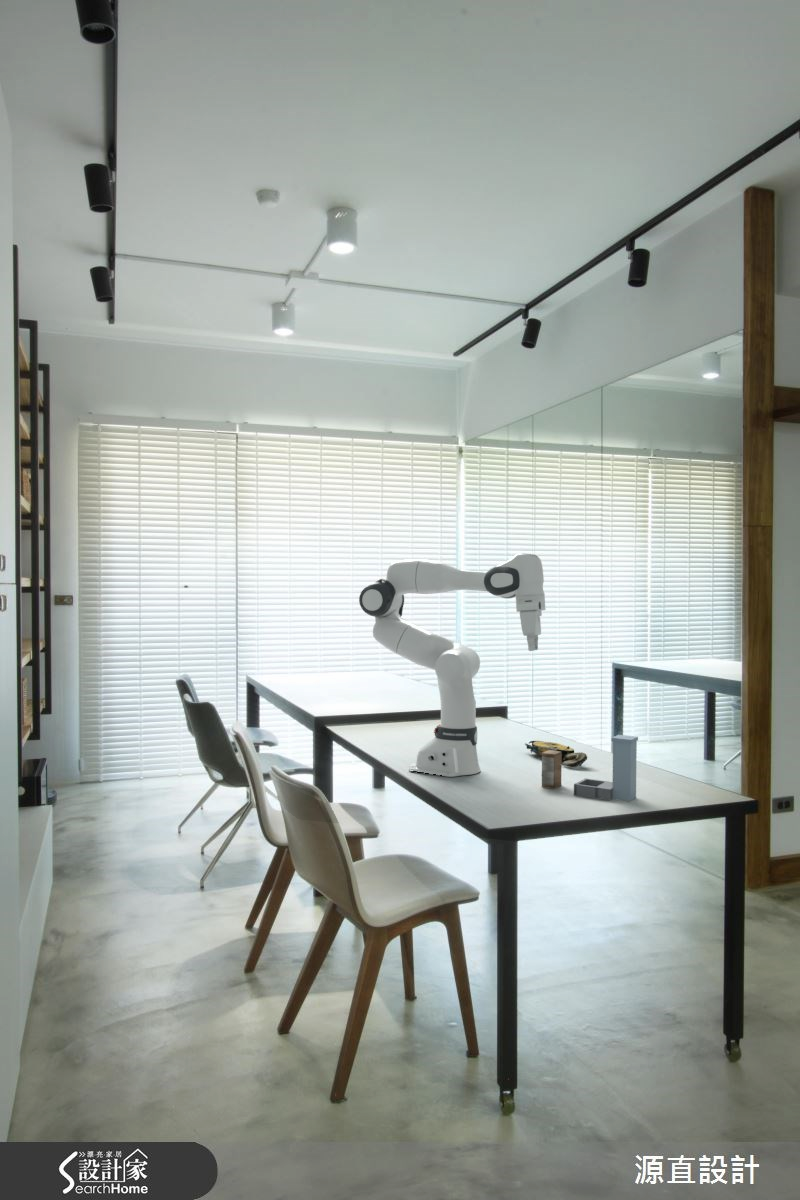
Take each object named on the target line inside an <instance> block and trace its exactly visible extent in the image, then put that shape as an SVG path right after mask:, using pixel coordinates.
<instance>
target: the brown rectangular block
mask: <svg viewBox="0 0 800 1200" xmlns="http://www.w3.org/2000/svg"><path fill="white" fill-rule="evenodd" d="M562 766H563V763H562V752H561V751H553V750H548V751H545V752H543V753H542V756H541V788H548V789H554V790H555V789H557V788H559V787H561V786H562Z"/></svg>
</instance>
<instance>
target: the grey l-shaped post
mask: <svg viewBox="0 0 800 1200" xmlns="http://www.w3.org/2000/svg"><path fill="white" fill-rule="evenodd" d="M638 741H639V736H635V735H624V734H617V735H615V736H612V737H611V742H612V781H609V780H608V781H607V780H599V779H595V778H594V779H592V778H583V779H581V780H579V781H577V782H575V783H573V795H574V796H579V797H585V796H586V797H585V798H593V799H598V798H599V799H600V800H605V799H606V800H607V801H612V800H616V799H618V800H617V801H623V800H625V801H624V802H632V801H634V800H635V799H636V798H637V754H638V753H637V745H638V744H637V742H638ZM634 798H635V799H634ZM599 799H598V800H599ZM631 800H632V801H631Z"/></svg>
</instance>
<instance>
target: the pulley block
mask: <svg viewBox="0 0 800 1200" xmlns="http://www.w3.org/2000/svg"><path fill="white" fill-rule="evenodd" d="M524 745H525V746H526V749H527V750H530V753H531V754H532V753H534V754H536V755H538V756H540V757H542V753H543V752H545V751H548V750H553V751H561V752H562V766H565V767H567V768H568V767H569V768H577V767H582V765H583V764H584V763H585V762H586V761H587V760H588V758H589V757H588V755H587V754H586V753H584V752H581V751H580V752H575V750H574V748H572V747H570V746H569V745H568V746H567V745H564V744H560V743H557V742H551V741H550V742H549V741H542V740H541V741H540V740H530V741H529V742H528V743H526V742H525V743H524Z"/></svg>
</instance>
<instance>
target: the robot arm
mask: <svg viewBox="0 0 800 1200" xmlns="http://www.w3.org/2000/svg"><path fill="white" fill-rule="evenodd" d="M544 578H545V577H544V569H543V563H542V560H541V558H540V556H538V555H536V554H532V553H529V552H528V553H526V552H517V553H516V554H515V555H514V556H512V557H511V558H510V559H508V560H507V561H505V562H502V563H500V564H497V565H494V566H493V567H491V568H489V569H488V570H486V571H478V570H465V569H461V568H457V567H454V566H452V565H449V564H446V563H443V562H440V561H436V560H431V559H419V558H417V559H416V558H413V559H411V558H410V559H401V560H396V561H393V562H392V563H391V564H390V565H389V566H388V568H387V572H386V578H379V579H377V580H376V581H374V582H371V583H369V584H368V585H367V586H365V587H364V588H363V589H362V590H361V592H360V594H359V598H358V601H359V603H358V604H359V606H360V608H361V609H362V611H363V612H364V613H365V614H367V615H369V616H371V617H374V618H375V621H374V625H373V628H372V635H373V637H374V640H375V641H377V642H378V643H379V644H380V645H382V646H383V647H385V648H386V649H388V650H389V651H391V652H393V653H394V654H396V655H399V656H400V657H402V658H404V659H407V660H409V661H410V662H412V663H414V664H416V665H418V666H421V667H425V668H429V669H431V670H434V671H435V674H436V676H437V677H436V678H437V686H438V690H439V697H440V724H438V725H436V727H435V728H434V729H433V733H434V736H435V737H433V738H432V739H431V740H429V741H428V742H427V743H425V744H424V745H423V746H422V747H420V748H419V750H418V752H417V754H416V760H415V762H413V763H411V764H410V765H409V769H410V770H413V771H419V772H424V773H423V774H425V773H429V774H428V775H433V774H436V775H435V776H440V775H442V777H448V778H451V777H452V778H455V777H459V776H469V775H475V774H478V773H480V772H481V770H482V769H481V766H480V763H479V759H478V749H477V745H478V727H477V724H476V722H477V721H476V718H477V717H476V713H477V707H476V706H477V705H476V703H477V701H476V699H475V695H474V686H473V678H474V677H476V675H477V674H478V672H479V670H480V668H481V667H480V666H481V660H480V657H479V654H478V652H476V651H475V650H474V649H473V648H471V647H468V646H465V645H464V644H461V643H458V642H456V641H454V640H451V639H448V638H446V637H444V636H440V635H438V634H435V633H433V632H431V631H428V630H427V629H424V628H423V627H420V626H419V625H416V624H415V623H412V622H410V621H408V620H406V619H405V618H403V617H402V616H403V609H404V604H405V595H407V594H420V595H432V594H442V593H447V592H454V591H462V590H463V591H464V590H465V591H479V592H488V593H489V594H491V595H493V596H494V597H495V596H496V597H500V598H502V599H512V598H515V605H516V606H515V607H516V612H518V613H519V619H520V625H521V633H522V635H523V636H524V637H526V642H527V647H528V651H529V652H534V651H538V649H539V636H540V635H541V634H542V625H541V624H542V623H541V616H542V615H543V614H542V611H546V597H545V595H546V594H545V592H544V581H545V579H544ZM410 770H409V771H410Z"/></svg>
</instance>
